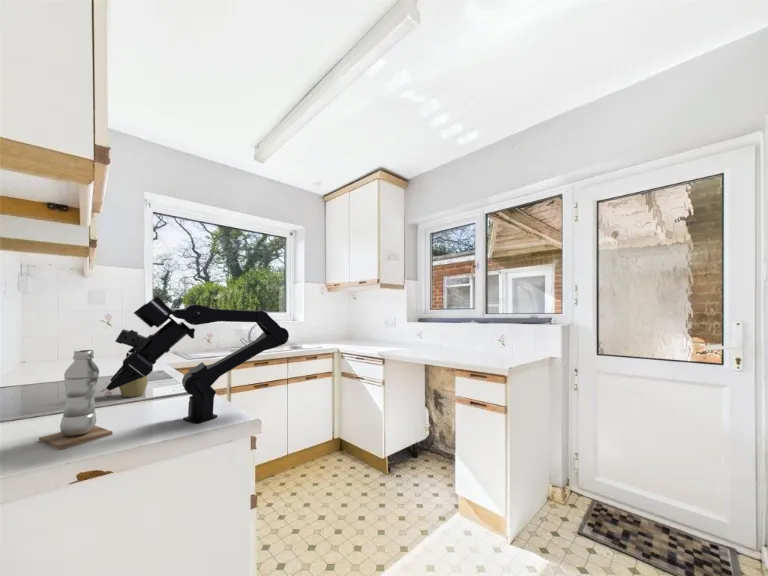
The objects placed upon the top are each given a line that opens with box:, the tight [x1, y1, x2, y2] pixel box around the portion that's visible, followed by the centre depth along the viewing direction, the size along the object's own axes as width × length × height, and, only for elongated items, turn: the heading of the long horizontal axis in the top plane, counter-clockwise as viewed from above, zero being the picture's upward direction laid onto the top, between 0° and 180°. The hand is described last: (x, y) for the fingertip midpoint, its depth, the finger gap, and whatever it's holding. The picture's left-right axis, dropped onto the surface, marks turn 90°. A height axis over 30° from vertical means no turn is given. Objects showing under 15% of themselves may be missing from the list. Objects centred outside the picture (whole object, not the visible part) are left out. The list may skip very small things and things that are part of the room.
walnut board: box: [38, 425, 113, 451], centre depth 80 cm, size 10×10×1 cm
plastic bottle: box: [59, 349, 100, 436], centre depth 81 cm, size 6×7×20 cm
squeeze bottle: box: [118, 375, 148, 398], centre depth 117 cm, size 8×8×18 cm
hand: (109, 385), depth 84 cm, fingers open, 9 cm apart
